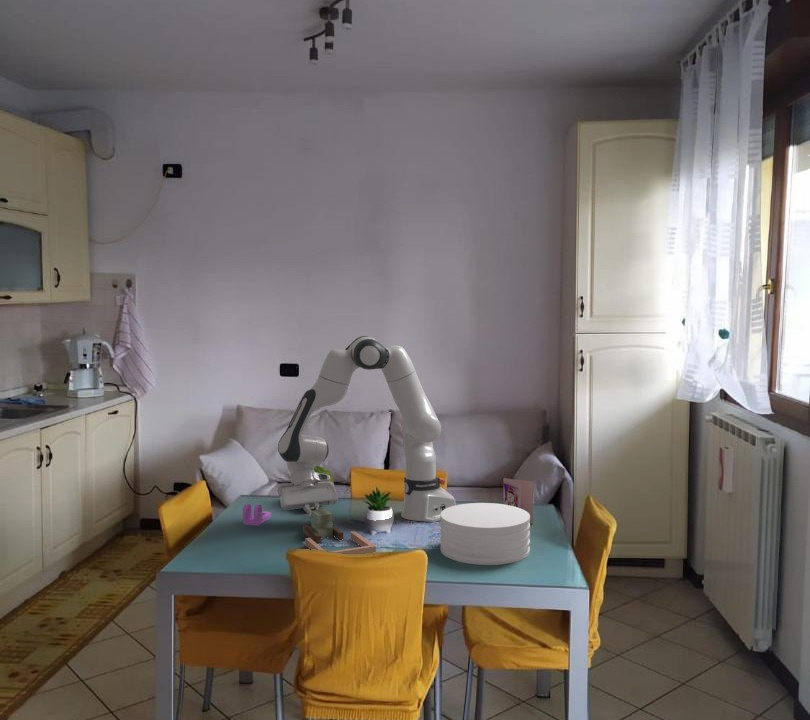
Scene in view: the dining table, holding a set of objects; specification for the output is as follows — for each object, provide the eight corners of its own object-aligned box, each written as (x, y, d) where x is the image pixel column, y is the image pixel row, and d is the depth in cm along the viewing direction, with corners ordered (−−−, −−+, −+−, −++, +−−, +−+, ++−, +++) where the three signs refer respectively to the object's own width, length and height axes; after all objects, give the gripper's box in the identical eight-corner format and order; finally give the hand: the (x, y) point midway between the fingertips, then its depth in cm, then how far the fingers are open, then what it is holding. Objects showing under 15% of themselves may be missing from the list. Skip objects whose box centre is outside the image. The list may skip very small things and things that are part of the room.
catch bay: (354, 538, 261) (354, 531, 261) (375, 554, 246) (375, 546, 245) (305, 545, 254) (305, 538, 254) (323, 562, 238) (323, 554, 238)
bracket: (257, 525, 277) (257, 506, 276) (243, 524, 278) (242, 505, 278) (273, 515, 289) (273, 497, 289) (259, 514, 291) (259, 496, 290)
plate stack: (436, 537, 262) (436, 503, 261) (519, 535, 264) (520, 501, 263) (445, 566, 234) (445, 528, 234) (538, 564, 236) (539, 526, 235)
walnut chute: (328, 528, 272) (328, 521, 272) (343, 540, 260) (343, 532, 259) (303, 532, 268) (303, 525, 268) (317, 544, 256) (316, 536, 255)
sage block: (325, 531, 269) (325, 508, 268) (332, 537, 263) (332, 513, 262) (311, 533, 267) (311, 510, 266) (318, 539, 261) (318, 515, 260)
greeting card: (501, 519, 282) (501, 478, 281) (519, 517, 285) (519, 476, 284) (517, 528, 272) (518, 485, 270) (536, 525, 275) (536, 483, 273)
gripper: (277, 480, 273) (286, 515, 265) (333, 474, 281) (343, 508, 273) (274, 490, 277) (283, 525, 269) (329, 484, 286) (339, 517, 278)
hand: (314, 516), depth 271 cm, fingers closed
